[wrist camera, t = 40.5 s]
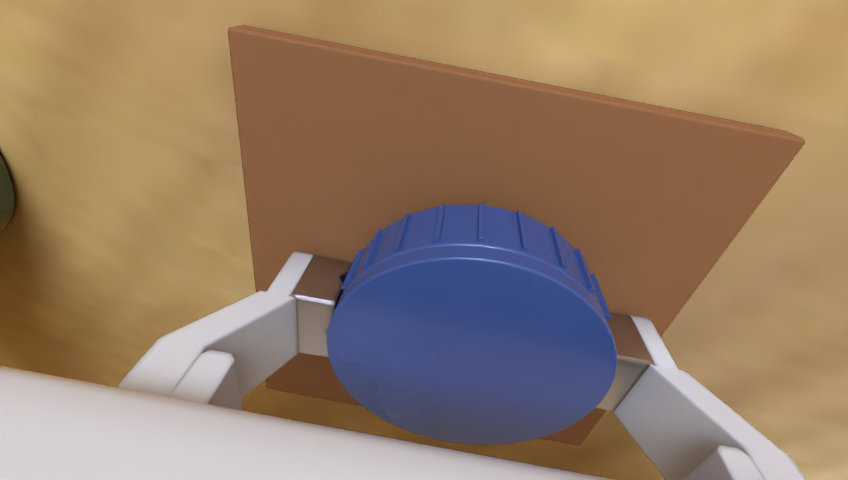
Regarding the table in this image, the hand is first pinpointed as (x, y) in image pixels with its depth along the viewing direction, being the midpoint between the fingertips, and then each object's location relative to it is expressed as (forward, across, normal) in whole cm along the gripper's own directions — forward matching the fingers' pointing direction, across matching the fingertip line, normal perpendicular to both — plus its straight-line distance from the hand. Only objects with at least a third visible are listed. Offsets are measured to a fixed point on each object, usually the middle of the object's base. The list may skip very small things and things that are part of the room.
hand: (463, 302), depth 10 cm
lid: (-2, 0, 0) cm, 2 cm away
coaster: (+1, 0, 0) cm, 1 cm away
